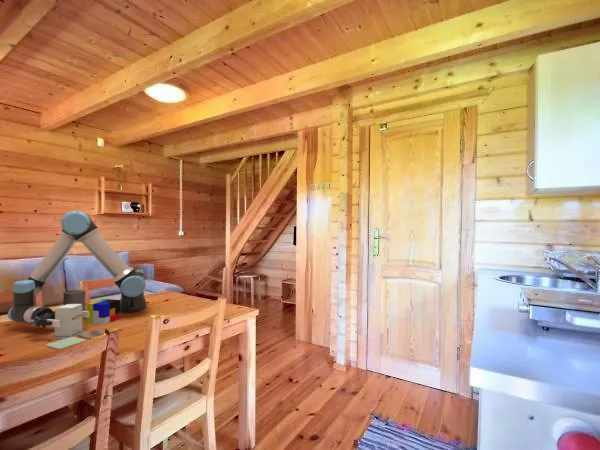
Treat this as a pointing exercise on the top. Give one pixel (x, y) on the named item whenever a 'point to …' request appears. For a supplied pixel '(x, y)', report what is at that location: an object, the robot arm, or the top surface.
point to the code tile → (68, 336)
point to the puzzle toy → (103, 311)
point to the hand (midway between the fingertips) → (74, 318)
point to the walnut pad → (92, 333)
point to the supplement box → (68, 319)
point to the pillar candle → (74, 297)
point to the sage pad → (65, 343)
